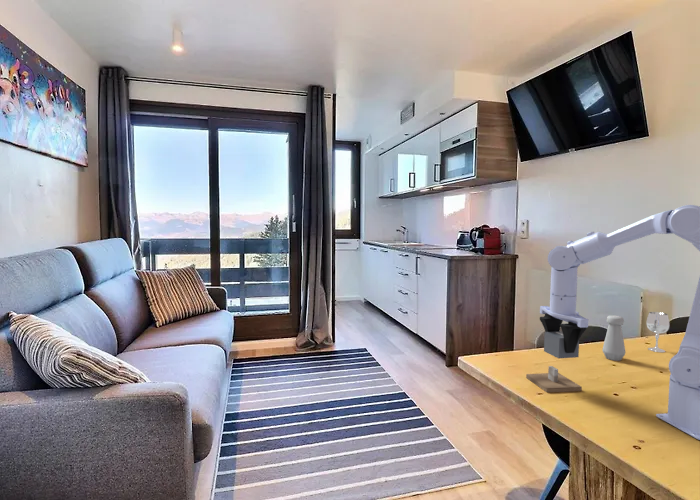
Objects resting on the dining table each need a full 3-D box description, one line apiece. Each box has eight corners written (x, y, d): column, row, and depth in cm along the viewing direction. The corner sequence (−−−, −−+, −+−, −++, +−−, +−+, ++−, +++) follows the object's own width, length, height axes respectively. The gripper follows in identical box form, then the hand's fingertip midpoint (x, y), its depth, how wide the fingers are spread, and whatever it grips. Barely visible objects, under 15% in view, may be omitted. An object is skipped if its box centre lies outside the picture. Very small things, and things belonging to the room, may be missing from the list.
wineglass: (640, 348, 127) (642, 312, 127) (653, 346, 129) (655, 310, 128) (659, 353, 122) (661, 316, 121) (672, 352, 124) (674, 314, 123)
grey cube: (578, 357, 95) (579, 336, 94) (558, 358, 94) (559, 337, 93) (562, 350, 100) (563, 330, 100) (543, 351, 99) (544, 331, 99)
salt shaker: (628, 362, 114) (631, 318, 113) (607, 361, 115) (609, 317, 114) (619, 356, 120) (621, 314, 119) (598, 354, 121) (600, 313, 120)
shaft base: (581, 390, 95) (582, 373, 94) (546, 392, 94) (547, 375, 93) (558, 376, 103) (558, 361, 103) (526, 377, 103) (526, 362, 102)
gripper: (601, 299, 89) (598, 357, 90) (557, 289, 104) (555, 339, 105) (573, 300, 88) (571, 359, 89) (533, 289, 103) (531, 340, 103)
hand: (560, 348), depth 97 cm, fingers closed on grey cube, 5 cm apart
